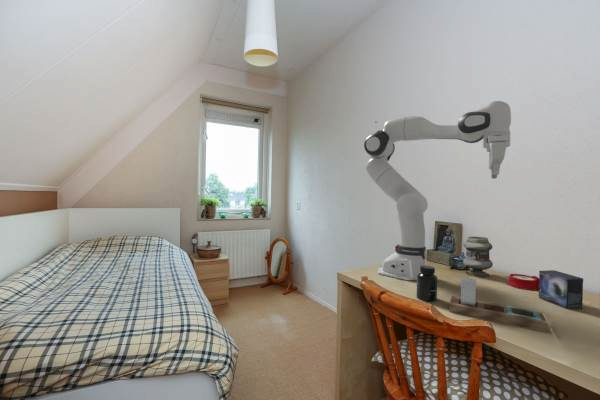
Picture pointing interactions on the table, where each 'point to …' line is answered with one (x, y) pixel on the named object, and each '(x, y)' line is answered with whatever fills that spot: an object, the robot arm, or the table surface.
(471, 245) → the apothecary jar
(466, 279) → the steel peg
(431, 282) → the supplement bottle
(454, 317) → the table surface
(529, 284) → the alarm clock
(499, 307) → the wooden compartment tray
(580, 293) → the small box
